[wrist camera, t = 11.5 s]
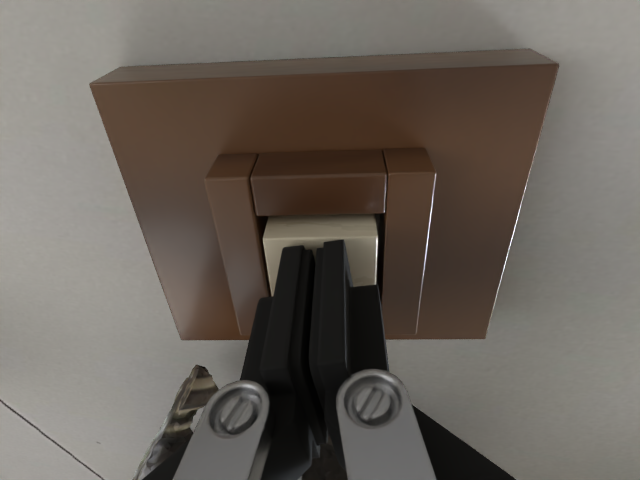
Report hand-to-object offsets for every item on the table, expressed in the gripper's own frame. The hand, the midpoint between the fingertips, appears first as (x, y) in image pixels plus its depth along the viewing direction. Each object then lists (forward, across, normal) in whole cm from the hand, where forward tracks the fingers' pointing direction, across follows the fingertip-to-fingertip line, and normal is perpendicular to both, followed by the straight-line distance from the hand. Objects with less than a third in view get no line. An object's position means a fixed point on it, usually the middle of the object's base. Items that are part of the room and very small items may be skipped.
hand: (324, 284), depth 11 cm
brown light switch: (+4, 0, 0) cm, 4 cm away
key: (+2, 0, 0) cm, 2 cm away
